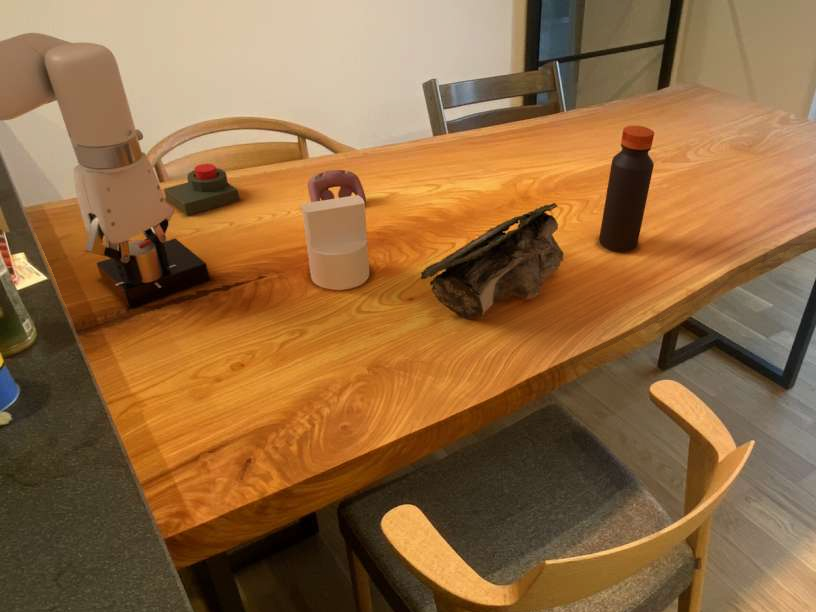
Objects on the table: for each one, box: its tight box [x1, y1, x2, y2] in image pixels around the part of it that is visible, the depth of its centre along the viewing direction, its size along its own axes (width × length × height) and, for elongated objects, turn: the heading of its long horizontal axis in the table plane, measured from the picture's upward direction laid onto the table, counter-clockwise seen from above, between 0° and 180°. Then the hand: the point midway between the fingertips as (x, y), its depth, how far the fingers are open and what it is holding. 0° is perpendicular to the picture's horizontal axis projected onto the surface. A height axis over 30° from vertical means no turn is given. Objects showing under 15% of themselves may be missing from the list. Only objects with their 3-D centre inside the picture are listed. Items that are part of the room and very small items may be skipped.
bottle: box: [598, 125, 655, 253], centre depth 115 cm, size 7×7×20 cm
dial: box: [129, 238, 163, 283], centre depth 98 cm, size 4×4×5 cm
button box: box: [163, 167, 240, 216], centre depth 125 cm, size 10×8×4 cm
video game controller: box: [307, 169, 367, 205], centre depth 126 cm, size 10×5×7 cm, turn 116°
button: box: [193, 163, 217, 180], centre depth 125 cm, size 4×4×2 cm
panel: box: [95, 238, 211, 309], centre depth 103 cm, size 12×12×3 cm
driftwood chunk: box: [420, 202, 564, 320], centre depth 103 cm, size 28×13×15 cm
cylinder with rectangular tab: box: [301, 194, 370, 291], centre depth 105 cm, size 9×9×12 cm
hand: (146, 273), depth 100 cm, fingers closed on dial, 4 cm apart
